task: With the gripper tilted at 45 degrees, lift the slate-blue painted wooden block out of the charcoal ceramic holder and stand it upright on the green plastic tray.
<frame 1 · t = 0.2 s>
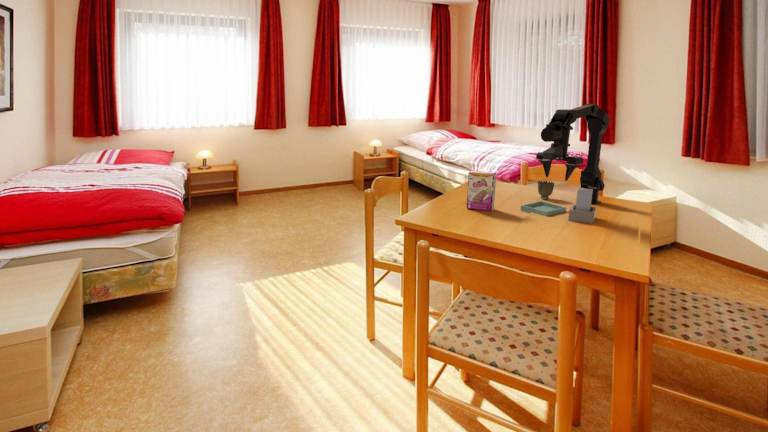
hand: (556, 178, 194), 14 cm above the table, tool pointing down, fingers open, 9 cm apart
candy bar box: (480, 209, 203), on the table
holder: (581, 220, 185), on the table
cup: (544, 199, 220), on the table
tray: (542, 211, 198), on the table
block: (581, 219, 185), point 1 cm above the table, touching holder
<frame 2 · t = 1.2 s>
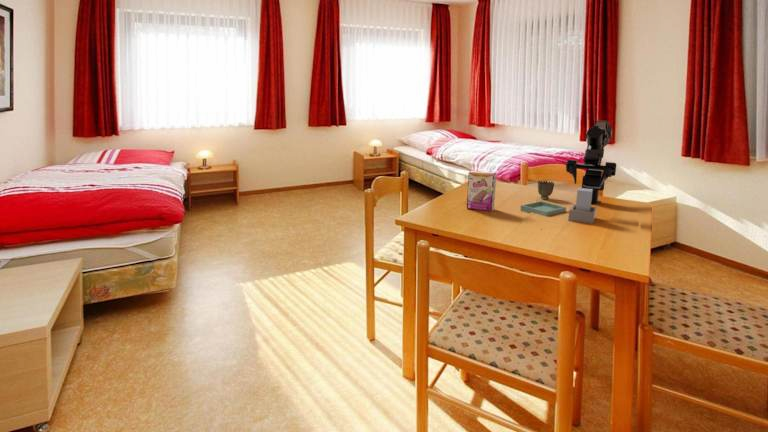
hand: (587, 184, 187), 13 cm above the table, tool tilted 45°, fingers open, 9 cm apart
nothing on the table moved.
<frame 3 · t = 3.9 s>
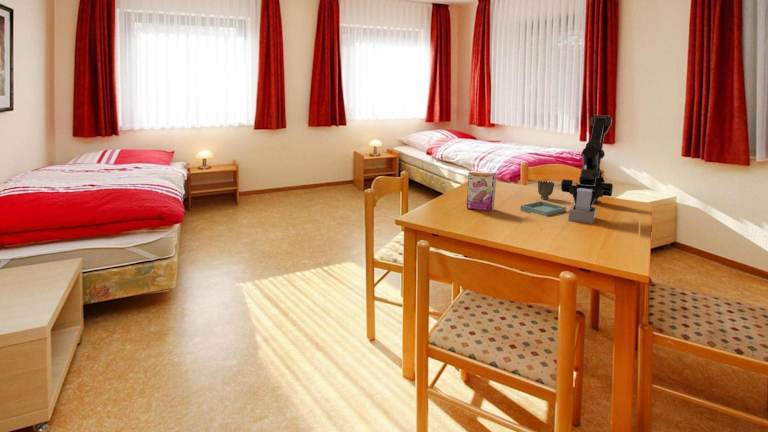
hand: (583, 205, 182), 7 cm above the table, tool tilted 45°, fingers closed on block, 5 cm apart
block: (581, 219, 185), point 1 cm above the table, touching gripper, holder
everything else where it was.
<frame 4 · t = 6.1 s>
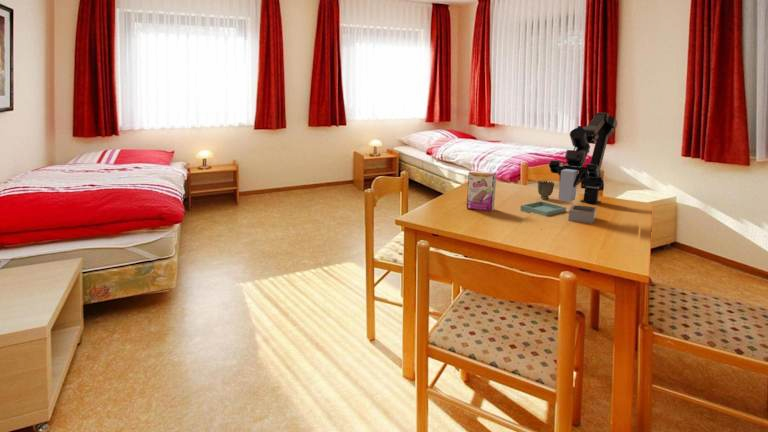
hand: (566, 185, 185), 13 cm above the table, tool tilted 45°, fingers closed on block, 5 cm apart
block: (566, 199, 187), point 7 cm above the table, touching gripper
everything else where it was.
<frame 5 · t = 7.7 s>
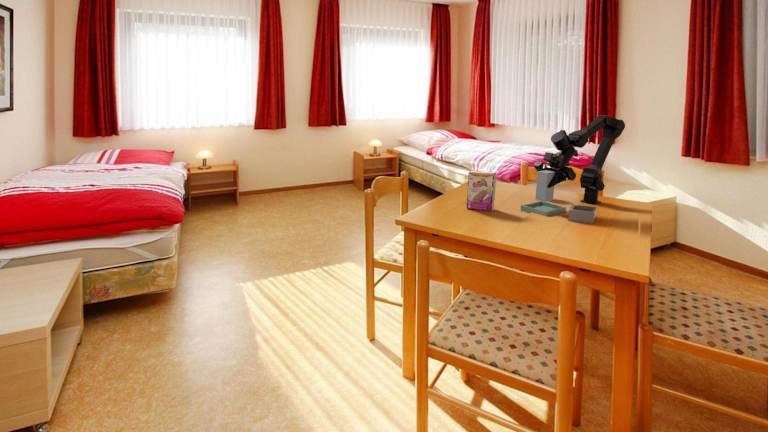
hand: (543, 186, 195), 11 cm above the table, tool tilted 45°, fingers closed on block, 5 cm apart
block: (544, 199, 197), point 5 cm above the table, touching gripper
everything else where it was.
when the fingers open (8 cm above the table, at t = 8.7 s): block drops 1 cm, resting on tray.
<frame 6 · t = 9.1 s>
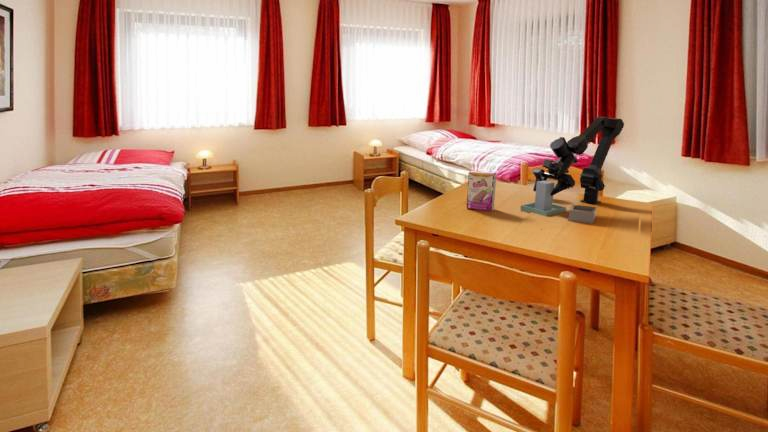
hand: (542, 193, 195), 8 cm above the table, tool tilted 45°, fingers open, 9 cm apart
block: (543, 209, 198), point 1 cm above the table, touching tray
everything else where it was.
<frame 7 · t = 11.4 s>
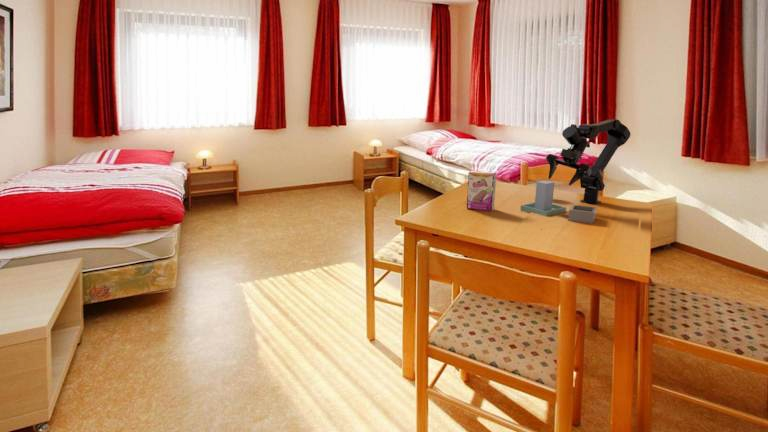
hand: (559, 181, 197), 12 cm above the table, tool tilted 35°, fingers open, 9 cm apart
nothing on the table moved.
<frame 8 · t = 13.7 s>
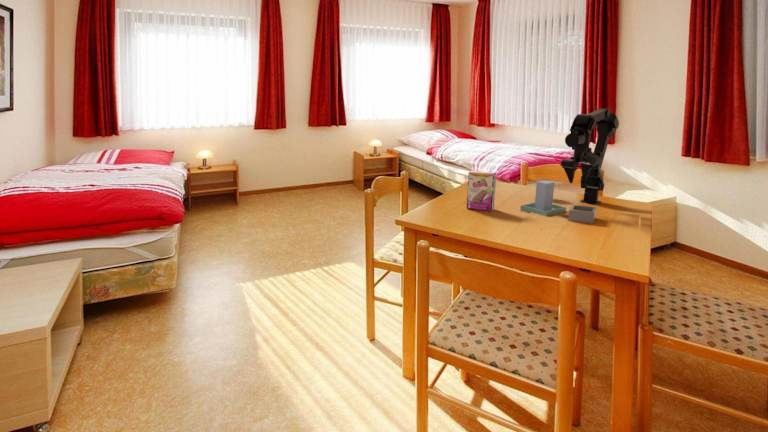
hand: (577, 181, 199), 12 cm above the table, tool pointing down, fingers open, 9 cm apart
nothing on the table moved.
at the end: block inside the target area on the tray (0.0 cm from its centre), point 0.8 cm above the tray's base; block tilted 0°; the gripper is holding nothing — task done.
